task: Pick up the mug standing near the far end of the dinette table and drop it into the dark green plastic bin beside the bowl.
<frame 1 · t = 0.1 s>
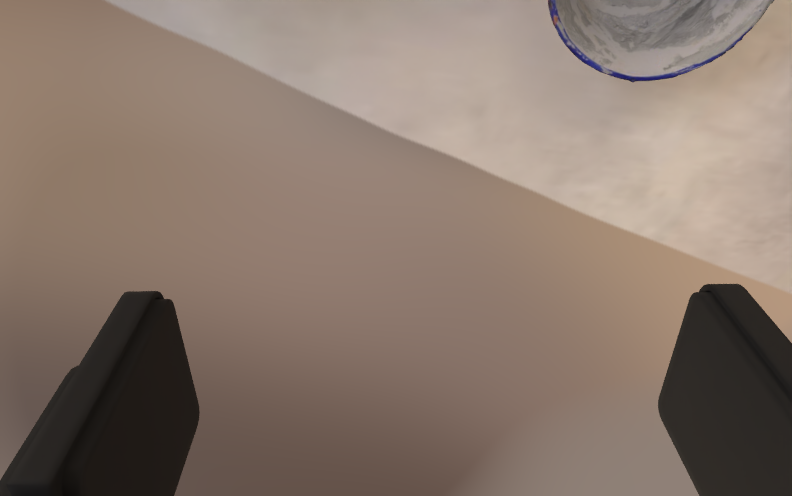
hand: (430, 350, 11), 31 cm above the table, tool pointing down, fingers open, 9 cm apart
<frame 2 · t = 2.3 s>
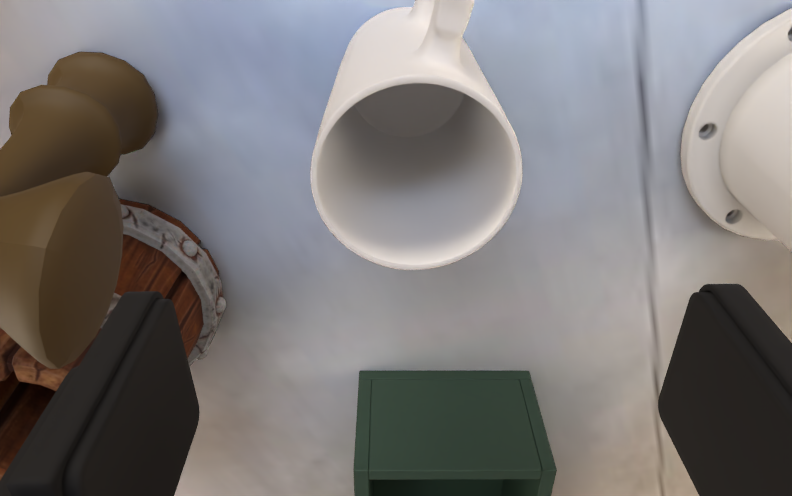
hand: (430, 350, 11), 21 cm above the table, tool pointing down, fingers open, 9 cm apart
kendama: (110, 98, 30), on the table
mug 2: (138, 296, 37), on the table
bin: (439, 443, 44), on the table
mug: (414, 39, 29), on the table
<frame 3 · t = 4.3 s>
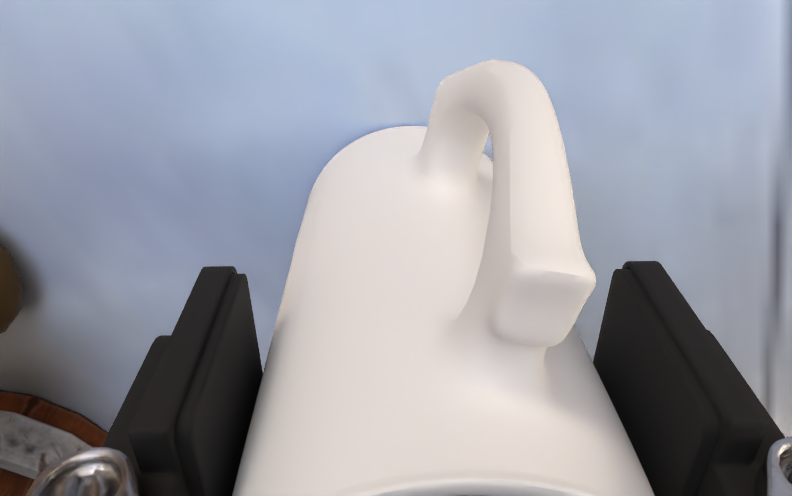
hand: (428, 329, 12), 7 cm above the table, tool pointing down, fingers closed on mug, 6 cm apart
mug: (420, 169, 18), on the table, touching gripper
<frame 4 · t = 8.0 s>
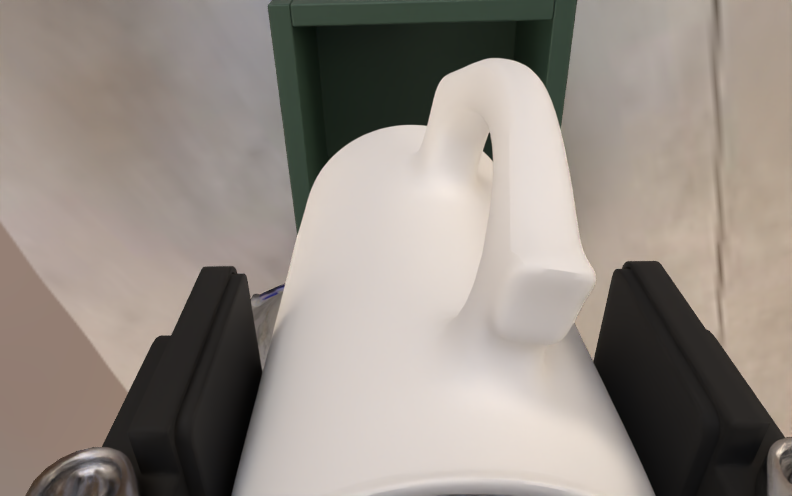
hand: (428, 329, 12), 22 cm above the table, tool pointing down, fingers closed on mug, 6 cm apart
bowl: (336, 317, 40), on the table
bin: (415, 113, 32), on the table
mug: (420, 169, 18), point 14 cm above the table, touching gripper
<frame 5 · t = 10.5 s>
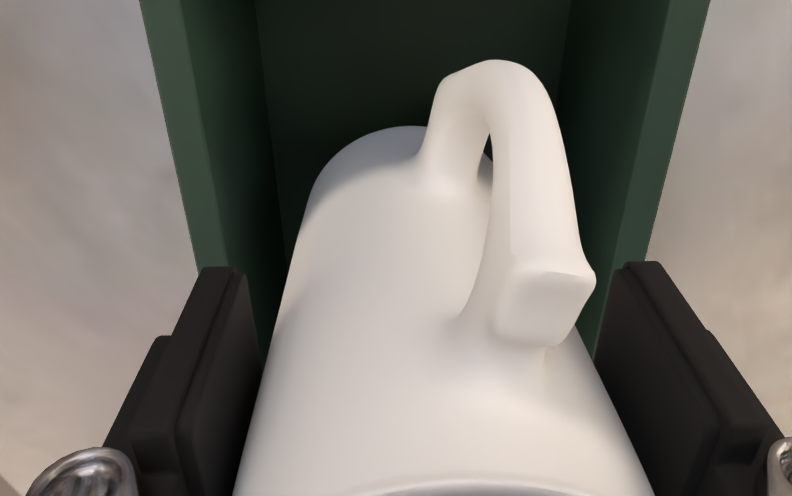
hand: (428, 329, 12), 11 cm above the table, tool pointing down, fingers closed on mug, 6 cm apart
bin: (411, 120, 21), on the table
mug: (420, 169, 18), point 4 cm above the table, touching gripper
when the fingers open (8 cm above the table, at t = 12.1 s): mug stays where it is, resting on bin.
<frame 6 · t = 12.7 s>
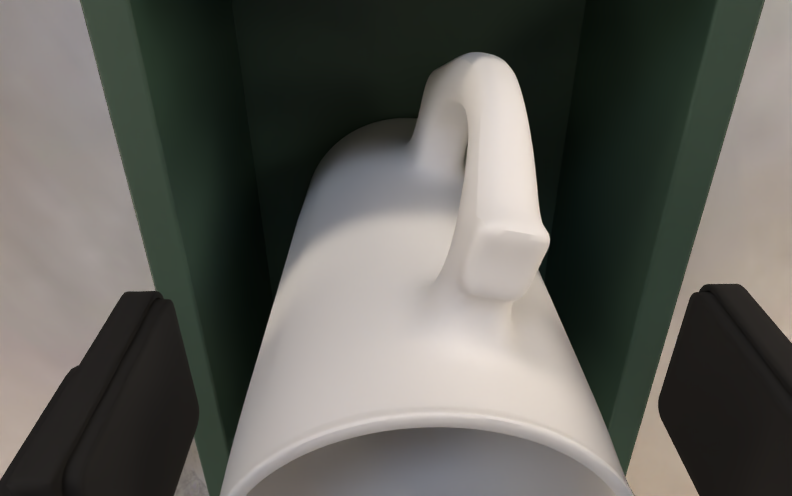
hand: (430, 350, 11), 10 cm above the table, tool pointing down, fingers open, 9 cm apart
bowl: (286, 441, 27), on the table
bin: (407, 151, 20), on the table
mug: (414, 160, 19), point 1 cm above the table, touching bin
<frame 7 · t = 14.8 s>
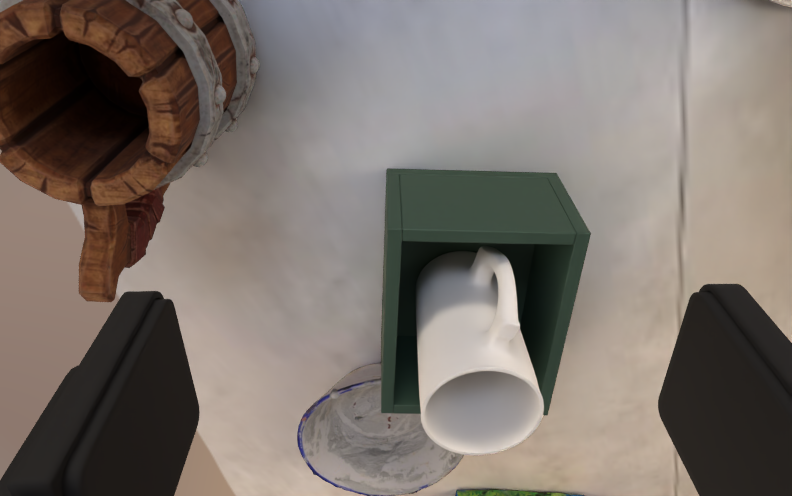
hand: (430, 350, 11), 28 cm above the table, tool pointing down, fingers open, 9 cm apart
bowl: (382, 396, 51), on the table
mug 2: (166, 71, 36), on the table
bin: (461, 261, 43), on the table
mug: (465, 266, 43), point 1 cm above the table, touching bin
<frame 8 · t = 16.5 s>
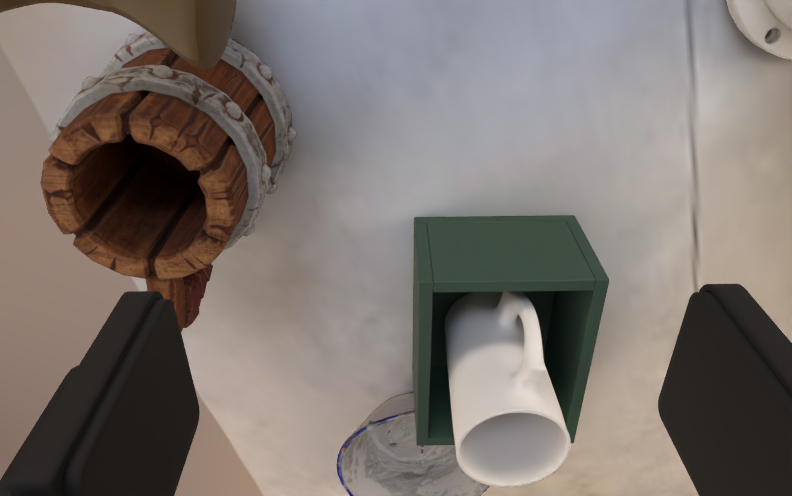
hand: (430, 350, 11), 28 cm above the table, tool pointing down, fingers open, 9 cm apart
bowl: (414, 423, 53), on the table
mug 2: (209, 139, 39), on the table
bin: (487, 298, 46), on the table
mug: (490, 303, 45), point 1 cm above the table, touching bin
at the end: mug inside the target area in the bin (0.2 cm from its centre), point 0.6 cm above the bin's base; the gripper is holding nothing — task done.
